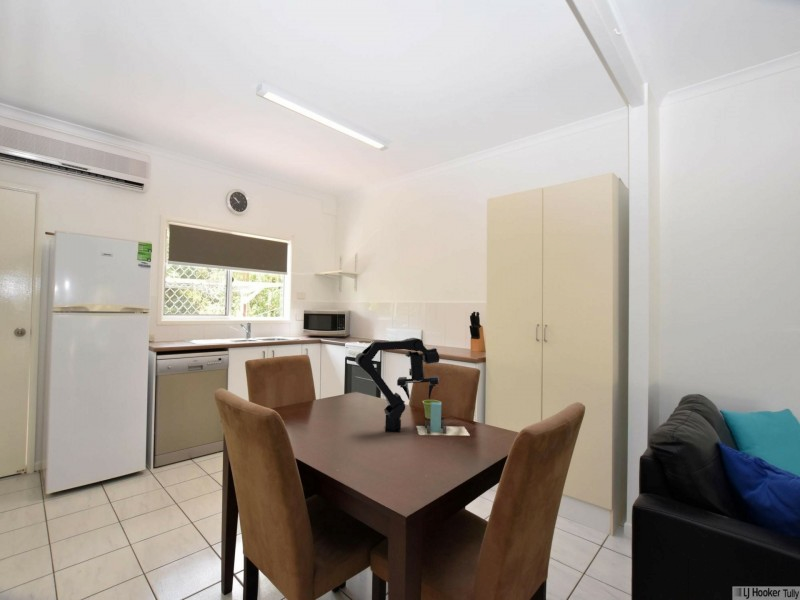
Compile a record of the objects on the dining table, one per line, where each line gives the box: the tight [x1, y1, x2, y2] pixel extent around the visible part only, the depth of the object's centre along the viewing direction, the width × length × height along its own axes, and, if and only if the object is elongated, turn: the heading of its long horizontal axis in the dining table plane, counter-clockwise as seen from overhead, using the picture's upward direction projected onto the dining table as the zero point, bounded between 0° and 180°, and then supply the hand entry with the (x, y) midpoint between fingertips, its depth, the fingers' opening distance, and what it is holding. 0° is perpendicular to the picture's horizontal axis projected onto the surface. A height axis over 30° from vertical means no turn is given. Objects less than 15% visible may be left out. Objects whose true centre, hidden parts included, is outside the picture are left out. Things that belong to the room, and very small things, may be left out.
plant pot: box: [422, 399, 442, 420], centre depth 185 cm, size 9×9×9 cm
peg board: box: [415, 420, 471, 437], centre depth 166 cm, size 22×12×4 cm, turn 93°
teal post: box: [429, 401, 442, 432], centre depth 165 cm, size 4×4×12 cm
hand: (419, 399), depth 172 cm, fingers open, 9 cm apart
